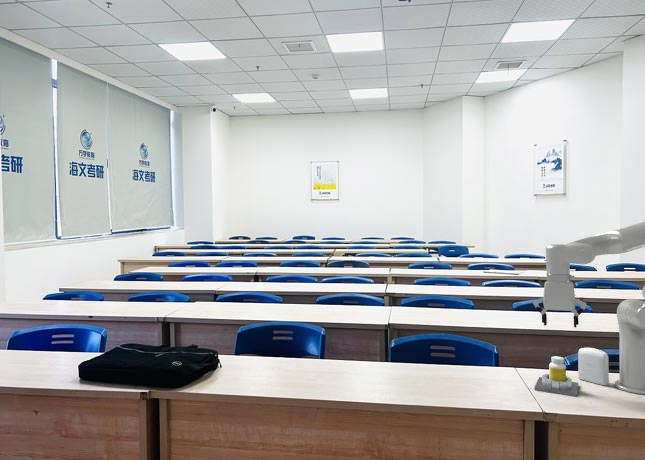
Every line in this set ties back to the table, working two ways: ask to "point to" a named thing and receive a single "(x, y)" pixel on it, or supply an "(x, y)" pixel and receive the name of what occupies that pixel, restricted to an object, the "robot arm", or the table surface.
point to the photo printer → (593, 366)
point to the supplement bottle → (557, 369)
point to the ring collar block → (557, 386)
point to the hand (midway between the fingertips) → (560, 325)
